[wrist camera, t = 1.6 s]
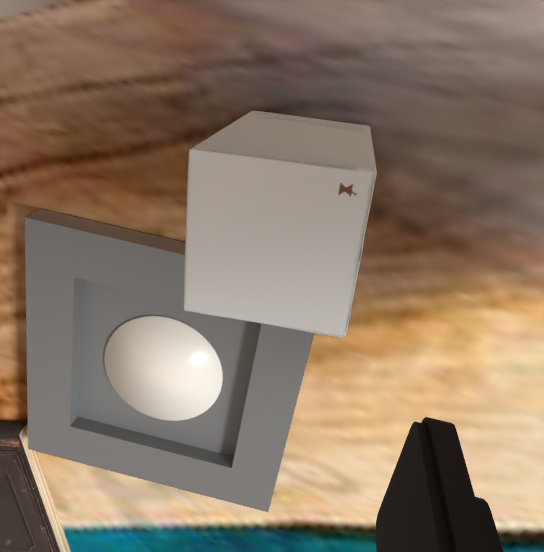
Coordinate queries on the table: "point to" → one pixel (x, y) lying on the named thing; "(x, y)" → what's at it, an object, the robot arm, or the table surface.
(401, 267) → the table surface
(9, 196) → the table surface
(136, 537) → the table surface
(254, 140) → the supplement box
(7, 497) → the hardcover book
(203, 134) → the table surface
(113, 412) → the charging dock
